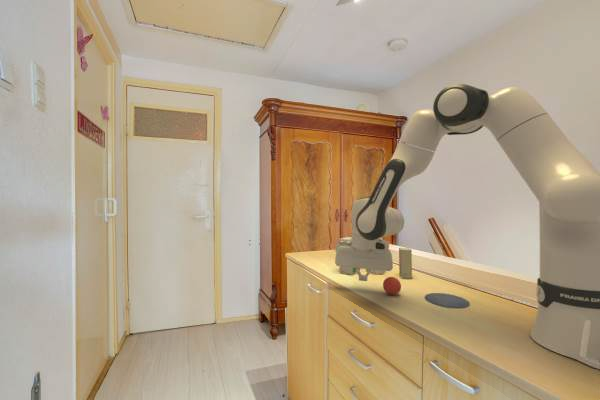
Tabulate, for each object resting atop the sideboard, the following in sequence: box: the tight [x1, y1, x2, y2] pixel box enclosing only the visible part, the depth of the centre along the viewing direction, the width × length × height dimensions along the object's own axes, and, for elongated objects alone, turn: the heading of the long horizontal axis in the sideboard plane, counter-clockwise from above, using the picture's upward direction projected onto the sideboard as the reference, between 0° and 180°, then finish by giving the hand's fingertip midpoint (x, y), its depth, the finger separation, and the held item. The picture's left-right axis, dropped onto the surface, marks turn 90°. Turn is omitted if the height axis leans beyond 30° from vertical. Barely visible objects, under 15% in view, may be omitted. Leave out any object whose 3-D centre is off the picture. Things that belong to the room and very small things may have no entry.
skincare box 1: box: [338, 236, 357, 276], centre depth 125 cm, size 8×7×16 cm
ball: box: [382, 276, 402, 296], centre depth 96 cm, size 6×6×6 cm
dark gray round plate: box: [424, 292, 471, 309], centre depth 91 cm, size 13×13×1 cm
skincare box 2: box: [398, 247, 413, 280], centre depth 118 cm, size 6×4×12 cm
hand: (363, 280), depth 100 cm, fingers closed
